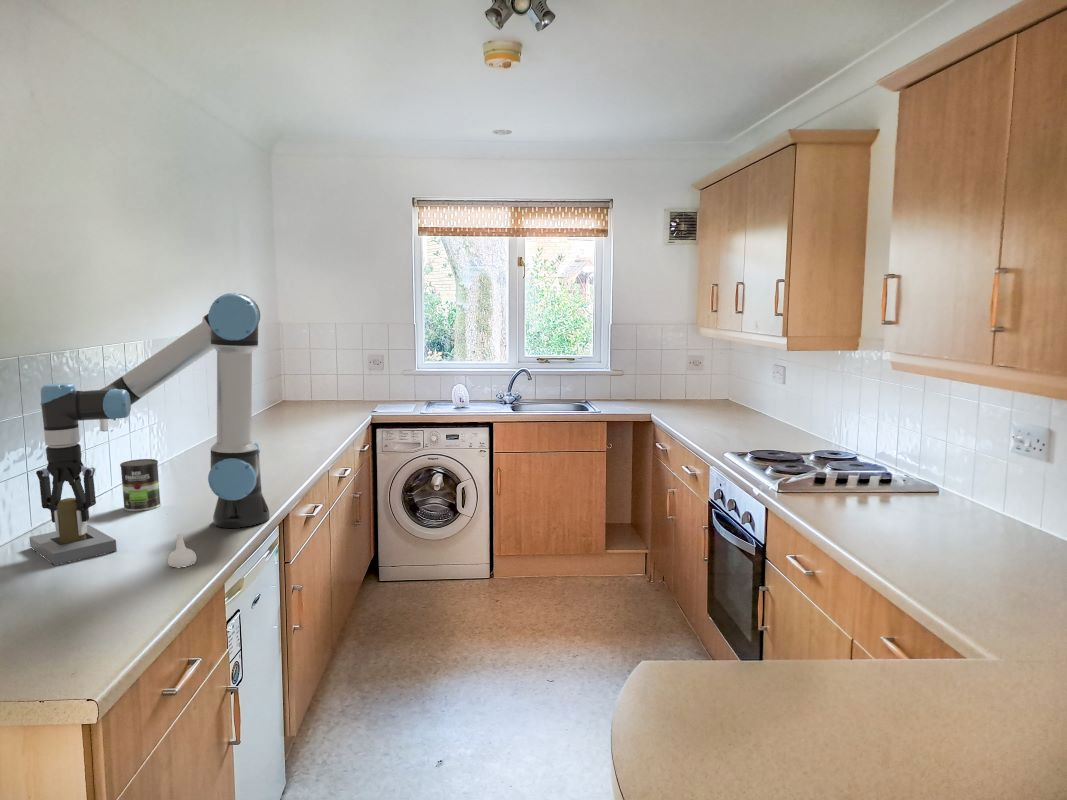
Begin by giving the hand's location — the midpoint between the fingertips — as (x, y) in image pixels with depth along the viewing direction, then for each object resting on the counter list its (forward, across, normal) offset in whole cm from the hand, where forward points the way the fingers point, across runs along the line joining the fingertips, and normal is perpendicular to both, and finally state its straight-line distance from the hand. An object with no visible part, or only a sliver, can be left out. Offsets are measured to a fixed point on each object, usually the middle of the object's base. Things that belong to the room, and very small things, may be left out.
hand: (72, 533), depth 199 cm
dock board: (+4, 0, 0) cm, 4 cm away
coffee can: (+4, +1, -40) cm, 41 cm away
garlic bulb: (+5, -33, +13) cm, 36 cm away
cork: (+2, 0, 0) cm, 2 cm away
